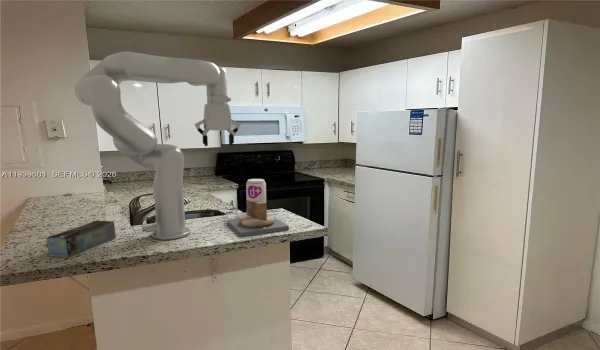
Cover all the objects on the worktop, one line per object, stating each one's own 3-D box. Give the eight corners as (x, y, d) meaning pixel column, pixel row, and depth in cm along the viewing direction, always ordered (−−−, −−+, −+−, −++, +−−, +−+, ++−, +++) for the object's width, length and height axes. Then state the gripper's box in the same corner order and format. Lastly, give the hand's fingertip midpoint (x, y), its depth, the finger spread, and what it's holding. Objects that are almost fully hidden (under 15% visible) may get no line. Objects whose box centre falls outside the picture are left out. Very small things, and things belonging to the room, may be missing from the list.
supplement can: (263, 217, 148) (262, 181, 146) (244, 216, 149) (243, 181, 147) (268, 212, 156) (268, 178, 153) (250, 211, 157) (249, 178, 155)
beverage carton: (46, 256, 107) (44, 234, 106) (98, 236, 125) (96, 218, 124) (67, 258, 104) (65, 237, 103) (117, 238, 123) (115, 220, 122)
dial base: (241, 236, 123) (241, 232, 123) (227, 223, 139) (227, 219, 138) (288, 229, 131) (288, 225, 130) (270, 218, 147) (270, 214, 146)
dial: (233, 221, 135) (232, 200, 134) (261, 215, 144) (261, 196, 142) (251, 229, 125) (250, 206, 124) (281, 222, 134) (280, 201, 132)
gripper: (236, 101, 143) (237, 144, 146) (192, 100, 136) (194, 145, 139) (241, 100, 137) (243, 145, 139) (195, 99, 129) (197, 146, 132)
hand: (218, 145), depth 139 cm, fingers open, 9 cm apart
